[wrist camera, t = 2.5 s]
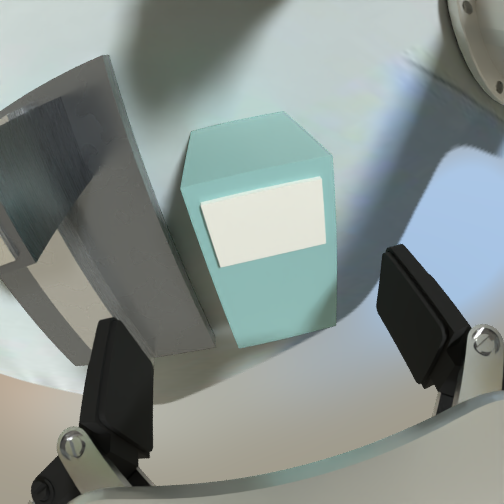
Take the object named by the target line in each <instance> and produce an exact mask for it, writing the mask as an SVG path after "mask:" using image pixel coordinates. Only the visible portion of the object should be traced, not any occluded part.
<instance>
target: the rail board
mask: <svg viewBox="0 0 504 504" xmlns="http://www.w3.org/2000/svg"><path fill="white" fill-rule="evenodd" d="M0 278H1V279H2V280H3V282H4V283H5V285H6V286H7V287H8V289H9V290H10V291H11V293H12V294H13V295H14V297H15V298H16V299H17V301H18V302H19V303H20V304H21V306H22V307H23V308H24V310H25V311H26V312H27V313H28V314H29V316H30V317H31V318H32V319H33V320H34V322H35V323H36V324H37V325H38V326H39V328H40V329H41V330H42V331H43V332H44V333H45V334H46V336H47V337H48V338H49V339H50V340H51V341H52V342H53V343H54V344H55V345H56V346H57V348H58V349H59V350H60V351H61V352H62V353H63V354H64V355H65V356H66V357H67V358H68V359H69V360H70V361H71V362H72V363H73V364H74V365H75V366H82V365H88V364H89V361H90V357H91V352H92V347H93V342H94V338H95V333H96V329H97V325H98V322H99V320H102V319H106V318H111V317H115V318H116V319H117V320H121V321H122V322H123V324H124V325H125V327H126V328H127V329H128V331H129V332H130V334H131V335H132V337H133V338H134V339H135V341H136V342H137V343H138V345H139V346H140V347H141V349H142V350H143V351H144V353H145V354H146V355H147V357H148V358H149V359H150V361H151V362H152V364H153V368H154V357H160V356H166V355H173V354H179V353H185V352H191V351H197V350H203V349H209V348H214V347H216V345H215V336H214V334H213V332H212V329H211V327H210V325H209V323H208V321H207V319H206V316H205V314H204V312H203V310H202V308H201V305H200V303H199V301H198V299H197V297H196V294H195V292H194V290H193V287H192V285H191V283H190V281H189V278H188V276H187V274H186V271H185V269H184V267H183V264H182V262H181V259H180V257H179V255H178V252H177V250H176V247H175V245H174V243H173V240H172V238H171V235H170V233H169V230H168V228H167V225H166V223H165V220H164V218H163V215H162V212H161V210H160V207H159V205H158V202H157V199H156V197H155V194H154V191H153V189H152V186H151V183H150V181H149V178H148V175H147V172H146V170H145V167H144V164H143V161H142V158H141V155H140V153H139V150H138V147H137V144H136V141H135V138H134V135H133V132H132V129H131V126H130V123H129V120H128V117H127V114H126V110H125V107H124V104H123V101H122V98H121V94H120V91H119V88H118V84H117V81H116V77H115V74H114V71H113V67H112V63H111V60H110V56H109V55H102V56H100V57H97V58H95V59H93V60H90V61H88V62H86V63H84V64H82V65H80V66H78V67H75V68H73V69H71V70H69V71H67V72H65V73H63V74H62V75H60V76H58V77H56V78H54V79H52V80H50V81H48V82H47V83H45V84H43V85H41V86H40V87H38V88H36V89H34V90H33V91H31V92H29V93H28V94H26V95H24V96H23V97H21V98H20V99H18V100H17V101H15V102H13V103H12V104H10V105H9V106H7V107H6V108H4V109H3V110H2V111H0Z"/></svg>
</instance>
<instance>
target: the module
mask: <svg viewBox="0 0 504 504" xmlns="http://www.w3.org/2000/svg"><path fill="white" fill-rule="evenodd" d="M180 189H181V192H182V195H183V198H184V201H185V204H186V207H187V210H188V213H189V216H190V219H191V222H192V225H193V227H194V230H195V233H196V236H197V239H198V242H199V244H200V247H201V250H202V253H203V256H204V258H205V261H206V264H207V267H208V269H209V272H210V275H211V277H212V280H213V283H214V286H215V288H216V291H217V294H218V296H219V299H220V301H221V304H222V307H223V309H224V312H225V314H226V317H227V320H228V322H229V325H230V327H231V330H232V332H233V335H234V337H235V340H236V342H237V345H238V347H239V348H244V347H249V346H254V345H259V344H263V343H268V342H272V341H277V340H281V339H285V338H290V337H294V336H298V335H302V334H306V333H310V332H314V331H318V330H322V329H325V328H329V327H333V326H336V306H337V239H336V208H335V187H334V171H333V157H332V155H331V154H330V153H329V152H328V151H327V150H326V149H325V148H324V147H323V146H322V145H321V144H320V143H319V142H318V141H317V140H315V139H314V138H313V137H312V136H311V135H310V134H309V133H308V132H307V131H306V130H304V129H303V128H302V127H301V126H300V125H299V124H298V123H297V122H295V121H294V120H293V119H292V118H291V117H290V116H289V115H287V114H286V113H285V112H284V111H283V112H277V113H271V114H266V115H260V116H255V117H250V118H246V119H241V120H236V121H232V122H227V123H223V124H219V125H214V126H210V127H206V128H202V129H198V130H195V131H191V135H190V140H189V145H188V150H187V155H186V160H185V165H184V171H183V176H182V182H181V187H180Z"/></svg>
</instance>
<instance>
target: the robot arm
mask: <svg viewBox="0 0 504 504" xmlns="http://www.w3.org/2000/svg"><path fill="white" fill-rule="evenodd" d="M448 8H449V13H450V17H451V21H452V26H453V30H454V33H455V36H456V39H457V42H458V45H459V48H460V50H461V52H462V54H463V57H464V59H465V61H466V64H467V65H468V67H469V69H470V71H471V72H472V74H473V76H474V78H475V79H476V81H477V82H478V83H479V85H480V86H481V87H482V89H483V90H484V91H485V92H486V93H487V94H488V95H489V96H490V97H491V98H492V99H493V100H495V101H497V102H498V103H500V104H502V105H504V0H448ZM376 307H377V311H378V314H379V316H380V317H381V319H382V321H383V323H384V324H385V326H386V328H387V330H388V331H389V333H390V335H391V337H392V338H393V340H394V342H395V344H396V345H397V347H398V349H399V351H400V353H401V355H402V356H403V358H404V360H405V362H406V364H407V366H408V367H409V369H410V371H411V373H412V375H413V377H414V379H415V381H416V382H417V383H418V384H422V386H423V388H424V389H426V388H428V387H430V386H432V385H435V387H436V389H437V391H438V395H437V399H436V403H435V407H434V411H433V415H432V417H431V418H429V419H427V420H425V421H423V422H421V423H419V424H417V425H414V426H412V427H410V428H408V429H405V430H403V431H401V432H398V433H396V434H394V435H392V436H389V437H387V438H384V439H382V440H379V441H377V442H374V443H372V444H369V445H366V446H363V447H361V448H358V449H355V450H352V451H349V452H346V453H343V454H340V455H337V456H334V457H331V458H327V459H324V460H320V461H317V462H313V463H310V464H306V465H302V466H298V467H294V468H290V469H286V470H281V471H277V472H272V473H268V474H262V475H257V476H252V477H245V478H239V479H233V480H226V481H217V482H209V483H198V484H188V485H187V484H186V485H171V486H156V485H155V484H154V483H153V482H152V481H151V480H150V479H149V478H148V477H147V476H146V475H145V473H144V472H143V471H142V470H141V469H140V468H139V467H138V459H140V458H150V455H149V454H150V453H149V452H150V451H152V449H153V375H154V369H153V364H152V362H151V361H150V359H149V358H148V357H147V355H146V354H145V353H144V351H143V350H142V349H141V347H140V346H139V345H138V343H137V342H136V341H135V339H134V338H133V337H132V335H131V334H130V332H129V331H128V329H127V328H126V327H125V325H124V324H123V322H122V321H121V320H117V319H116V318H115V317H111V318H106V319H102V320H99V322H98V325H97V329H96V333H95V338H94V342H93V347H92V352H91V357H90V361H89V364H88V369H87V375H86V380H85V386H84V392H83V400H82V406H81V413H80V421H79V427H74V426H73V427H69V428H67V429H65V430H64V431H63V432H62V433H61V434H60V436H59V438H58V442H57V453H58V456H57V457H56V458H55V459H54V460H53V461H52V462H51V463H50V464H49V465H48V466H47V467H46V468H45V469H44V470H43V471H42V472H41V473H40V474H39V475H38V476H37V477H36V478H35V480H34V481H33V483H32V486H31V494H32V498H33V501H29V503H28V504H504V342H503V338H502V336H501V334H500V333H499V332H498V331H497V329H495V328H494V327H492V326H489V325H486V324H480V325H476V326H475V327H473V328H471V327H470V325H469V324H468V322H467V321H466V320H465V318H464V317H463V316H462V314H461V313H460V311H459V310H458V309H457V307H456V306H455V305H454V303H453V302H452V301H451V300H450V298H449V297H448V296H447V294H446V293H445V292H444V291H443V290H442V288H441V287H440V286H439V284H438V283H437V282H436V281H435V279H434V278H433V277H432V276H431V275H430V274H428V273H427V272H426V270H425V269H424V268H423V267H422V266H421V264H420V263H419V262H418V261H417V260H416V259H415V257H414V256H413V255H412V254H411V253H410V252H409V250H408V249H407V248H406V247H405V246H404V245H403V244H399V245H396V246H392V247H389V248H387V249H386V253H383V255H382V263H381V273H380V281H379V289H378V296H377V304H376Z"/></svg>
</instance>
